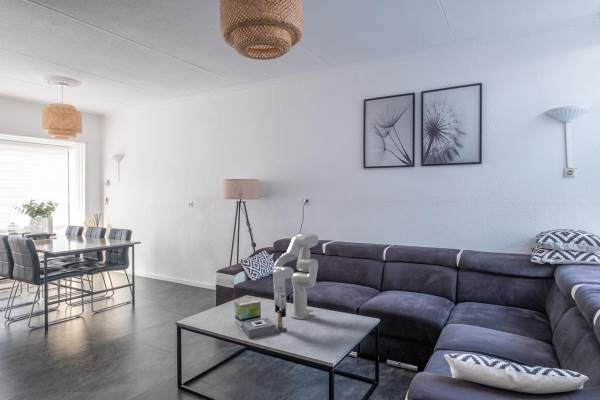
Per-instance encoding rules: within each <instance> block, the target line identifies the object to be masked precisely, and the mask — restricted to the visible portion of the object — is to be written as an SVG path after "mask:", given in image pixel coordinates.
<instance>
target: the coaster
mask: <svg viewBox="0 0 600 400" xmlns="http://www.w3.org/2000/svg"><path fill="white" fill-rule="evenodd" d="M285 332H287V328H286V327H284V326H283V329H282V330H278V326H276V333H279V334H281V333H285Z"/></svg>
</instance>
